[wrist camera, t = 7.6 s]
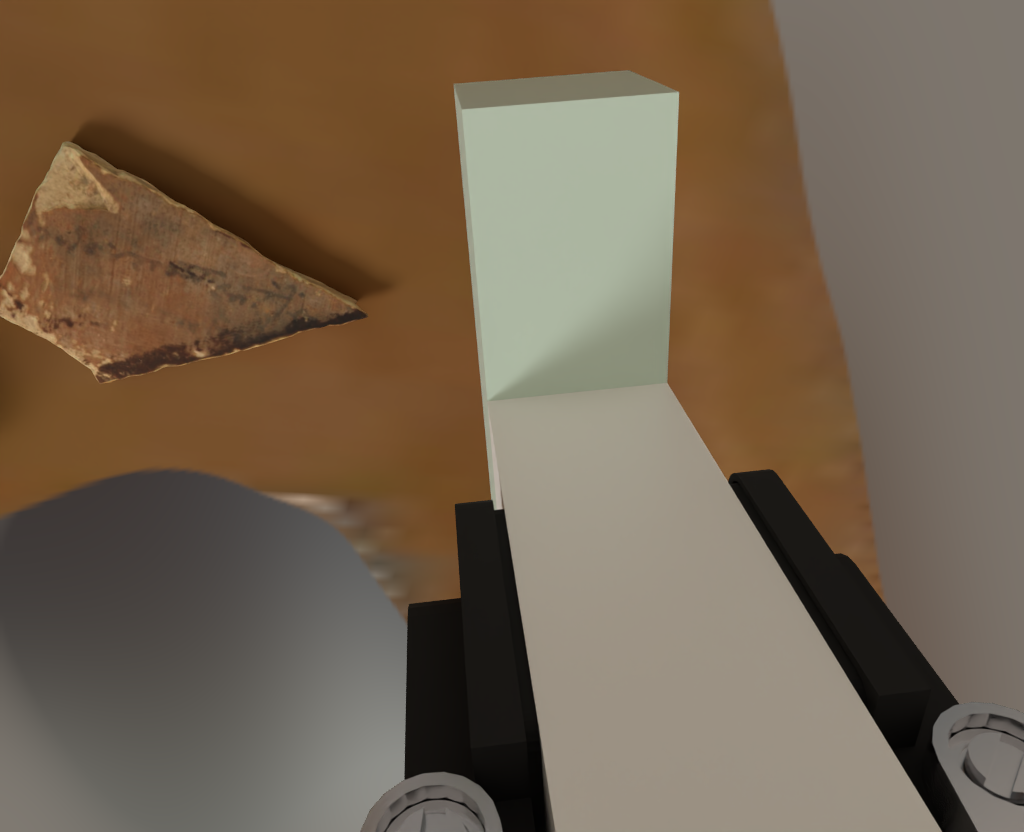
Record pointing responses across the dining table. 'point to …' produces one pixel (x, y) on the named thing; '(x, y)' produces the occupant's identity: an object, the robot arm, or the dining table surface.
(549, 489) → the green white t block
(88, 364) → the shard
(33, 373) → the dining table surface
